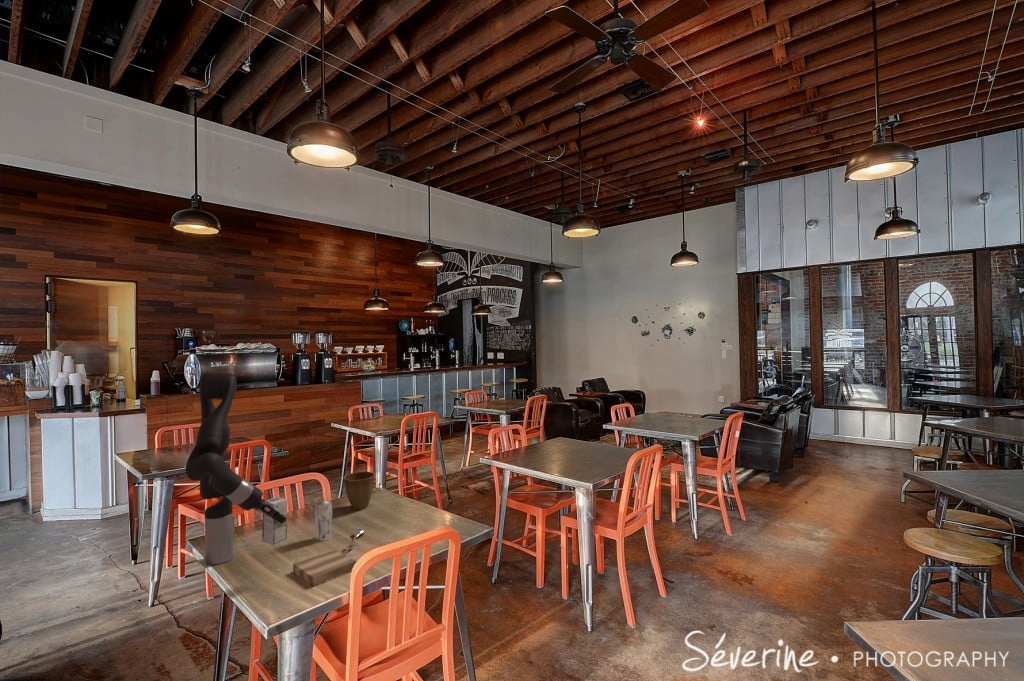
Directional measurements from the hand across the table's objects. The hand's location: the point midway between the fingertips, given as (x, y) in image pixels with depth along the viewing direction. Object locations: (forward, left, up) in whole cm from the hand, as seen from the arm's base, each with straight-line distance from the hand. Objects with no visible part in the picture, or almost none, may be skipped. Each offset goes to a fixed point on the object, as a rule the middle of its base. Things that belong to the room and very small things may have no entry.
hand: (279, 518), depth 171 cm
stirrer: (-6, +33, -21) cm, 39 cm away
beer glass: (-20, +27, -21) cm, 39 cm away
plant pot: (-42, +57, -21) cm, 74 cm away
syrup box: (0, -2, -8) cm, 8 cm away
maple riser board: (+8, +13, -21) cm, 26 cm away
